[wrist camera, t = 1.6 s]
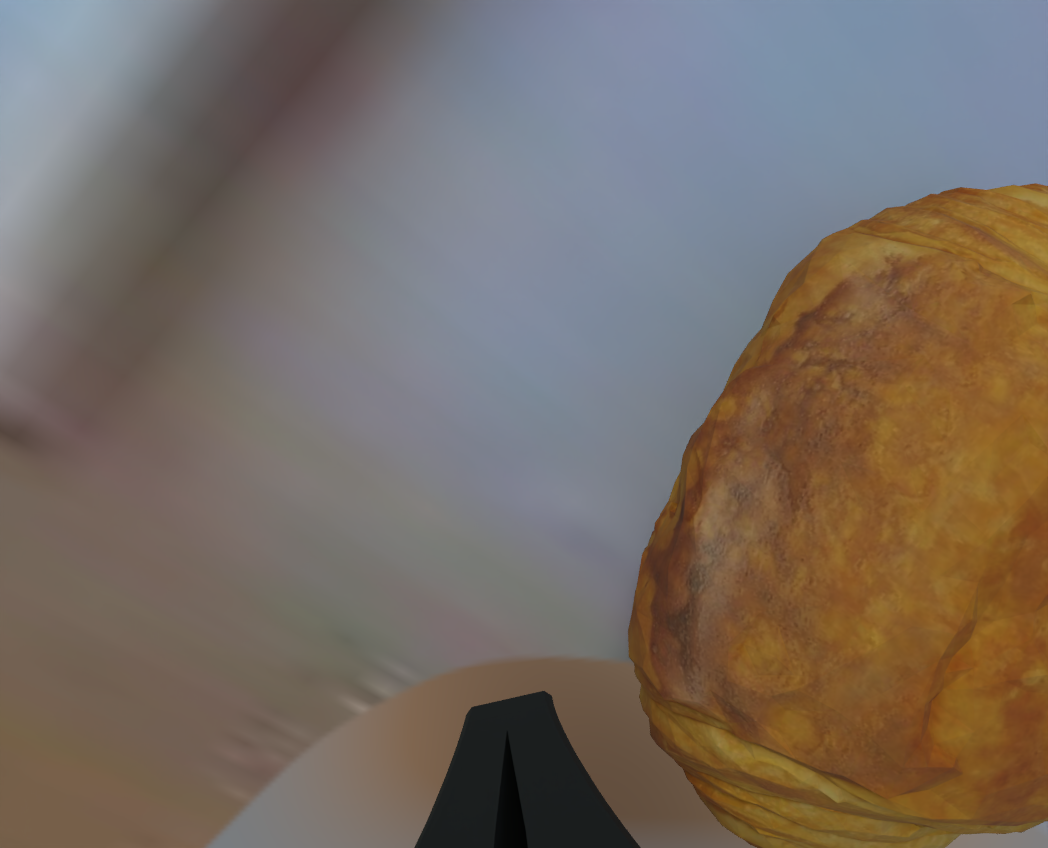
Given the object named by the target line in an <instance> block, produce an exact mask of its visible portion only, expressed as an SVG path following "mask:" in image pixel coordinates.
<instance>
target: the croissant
mask: <svg viewBox="0 0 1048 848" xmlns="http://www.w3.org/2000/svg"><path fill="white" fill-rule="evenodd" d="M654 529H655V530H654V531H653V532H652V535H651V538H650V540H649V543H648V546H647V547H646V548H645V550H644V552H643V554H642V559H641V565H640V571H639V576H638V583H637V588H636V591H635V597H634V603H633V610H632V615H631V620H630V625H629V629H628V641H629V658H630V659H631V660H632V661H633V662H634V665H635V674H636V677H637V679H638V680H639V682H640V683H641V689H640V695H639V698H640V701H641V704H642V708H643V711H644V712H645V713H646V715H647V716H648V717H649V722H650V733H651V734H650V735H651V737H652V738H653V740H654V741H655V742H656V744H657V745H658V746H659V747H660V748H661V749H663V750H664V751H665V752H666V753H667V754H668V755H669V756H671V757H672V758H673V759H674V760H675V761H676V763H677V764H678V765H679V766H680V767H682V768H683V770H684V772H685V775H686V777H687V779H688V780H689V781H690V782H691V783H692V784H693V786H694V788H695V790H696V792H697V794H698V795H699V797H700V799H701V800H702V801H703V802H704V804H705V805H706V806H707V807H708V809H709V810H710V811H711V812H712V814H713V815H714V816H715V817H716V819H717V820H718V821H719V822H720V823H721V825H722V826H724V827H725V828H727V829H728V830H729V831H731V832H732V833H734V834H735V835H737V836H738V837H740V838H742V839H744V840H745V841H746V842H748V843H749V844H750V845H753V846H755V847H757V848H945V847H946V846H948V845H949V844H950V843H951V842H952V841H953V840H955V839H956V838H957V837H958V836H959V835H960V834H977V833H996V834H998V833H999V834H1006V833H1012V832H1023V831H1025V830H1027V829H1030V828H1032V827H1034V826H1036V825H1038V824H1041V823H1043V822H1044V821H1048V186H1044V185H1040V184H1029V185H1023V186H1016V185H1011V186H1006V187H1000V188H995V189H989V190H982V189H972V188H962V187H960V188H956V189H952V190H948V191H943V192H941V193H940V194H930V195H928V196H926V197H924V198H922V199H919V200H917V201H914V202H912V203H909V204H907V205H906V206H901V207H892V208H886V209H884V210H883V211H881V212H880V213H878V214H877V215H875V216H874V217H872V218H870V219H869V220H861V221H859V222H858V223H856V224H854V225H852V226H851V227H849V228H847V229H844V230H841V231H838V232H836V233H833V234H831V235H829V236H828V237H826V238H824V239H822V240H821V242H820V243H819V245H818V246H817V247H816V248H815V249H814V250H813V251H812V252H811V253H810V254H809V255H807V256H806V257H805V258H804V259H803V260H802V261H801V262H800V263H799V264H798V265H797V266H796V267H794V268H793V269H792V270H791V271H790V272H789V273H788V274H787V276H786V278H785V280H784V281H783V283H782V285H781V287H780V289H779V291H778V292H777V294H776V296H775V298H774V300H773V302H772V304H771V307H770V309H769V312H768V314H767V316H766V319H765V321H764V324H763V326H762V329H761V330H760V331H759V332H758V333H757V334H756V335H755V337H754V338H753V339H752V340H751V341H750V342H749V343H748V345H747V347H746V348H745V350H744V351H743V353H742V354H741V356H740V357H739V359H738V360H737V362H736V364H735V365H734V367H733V370H732V372H731V374H730V377H729V379H728V381H727V384H726V386H725V388H724V391H723V393H722V394H721V396H720V397H719V398H718V400H717V401H716V403H715V404H714V406H713V407H712V408H711V410H710V412H709V414H708V416H707V418H706V420H705V422H704V423H703V424H702V425H701V426H700V427H699V428H698V429H697V430H696V432H695V433H694V434H693V435H692V436H691V438H690V440H689V443H688V445H687V447H686V449H685V452H684V454H683V458H682V465H681V472H680V474H679V476H678V477H677V479H676V481H675V484H674V487H673V490H672V493H671V495H670V498H669V501H668V503H667V504H666V506H665V508H664V509H663V511H662V512H661V514H660V517H659V518H658V519H657V521H656V522H655V528H654Z"/></svg>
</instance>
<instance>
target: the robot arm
mask: <svg viewBox="0 0 1048 848" xmlns="http://www.w3.org/2000/svg"><path fill="white" fill-rule="evenodd" d="M415 848H640V846H639V845H638V844H637V843H636V841H635V840H634V839H633V838H632V836H631V835H630V834H629V832H628V831H627V830H626V829H625V827H624V826H623V824H622V823H621V822H620V820H619V819H618V817H617V816H616V815H615V813H614V812H613V811H612V809H611V808H610V806H609V805H608V804H607V802H606V801H605V799H604V798H603V796H602V795H601V793H600V792H599V790H598V789H597V787H596V786H595V784H594V782H593V781H592V780H591V778H590V776H589V774H588V773H587V771H586V770H585V768H584V766H583V765H582V763H581V761H580V760H579V758H578V756H577V755H576V753H575V751H574V750H573V748H572V746H571V744H570V742H569V740H568V738H567V736H566V734H565V732H564V730H563V728H562V725H561V723H560V721H559V719H558V716H557V714H556V711H555V708H554V704H553V700H552V696H551V695H550V694H548V693H546V692H545V691H542V692H537V693H532V694H528V695H524V696H520V697H515V698H511V699H506V700H502V701H497V702H492V703H489V704H484V705H479V706H475V707H472V708H471V709H470V710H469V712H468V713H467V715H466V718H465V722H464V726H463V729H462V732H461V735H460V738H459V741H458V744H457V747H456V750H455V753H454V756H453V758H452V761H451V764H450V766H449V769H448V772H447V774H446V777H445V779H444V782H443V784H442V787H441V789H440V791H439V794H438V796H437V799H436V801H435V804H434V806H433V808H432V811H431V814H430V816H429V818H428V820H427V822H426V825H425V827H424V829H423V831H422V833H421V835H420V837H419V839H418V842H417V844H416V846H415Z"/></svg>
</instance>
